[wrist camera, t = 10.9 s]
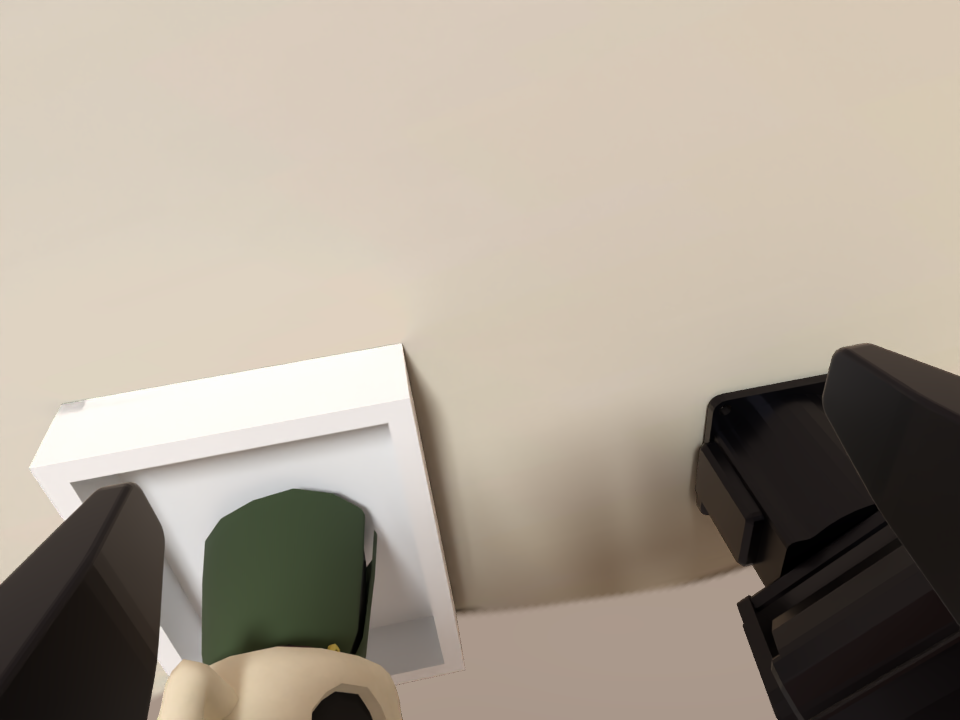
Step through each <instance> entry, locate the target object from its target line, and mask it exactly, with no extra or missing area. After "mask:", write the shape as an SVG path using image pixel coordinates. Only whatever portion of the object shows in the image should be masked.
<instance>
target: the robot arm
mask: <svg viewBox="0 0 960 720" xmlns="http://www.w3.org/2000/svg"><path fill="white" fill-rule="evenodd" d="M725 405H726V406H725ZM723 406H725V407H723ZM722 407H723V408H722ZM720 408H721V409H720ZM695 491H696V492H697V494H698V495H697V506H698V508H699V510H700V511H701V513H702V514H704V515H710V517H711V518H712V520H713V522H714V524H715V525H716V527H717V529H718V530H719V532H720V534H721V536H722V537H723V539H724V541H725V542H726V544H727V546H728V548H729V549H730V551H731V553H732V555H733V556H734V558H735V560H736V561H737V562H738V563H739V564H741V565H742V566H744V567H745V566H750V565H753V567H754V569H755V570H756V572H757V574H758V575H759V577H760V579H761V580H762V582H763V584H764V585H765V588H763V589H762V590H760V591H759V592H757V593H756V594H754V595H753V596H752V597H751V596H747V597H745V598H744V599H742V600H741V601H740V602H738V603H737V606H738V609H739V612H740V615H741V617H742V620H743V623H744V624H743V628H744V631H745V634H746V636H747V639H748V642H749V645H750V647H751V650H752V653H753V656H754V658H755V661H756V664H757V666H758V669H759V672H760V675H761V678H762V680H763V683H764V685H765V688H766V691H767V694H768V696H769V699H770V702H771V705H772V708H773V710H774V713H775V715H776V718H777V719H778V720H960V376H958V375H955V374H952V373H950V372H947V371H944V370H942V369H939V368H936V367H933V366H931V365H928V364H925V363H922V362H920V361H917V360H914V359H912V358H909V357H906V356H903V355H901V354H898V353H895V352H893V351H890V350H887V349H884V348H882V347H879V346H876V345H873V344H869V343H863V344H857V345H852V346H847V347H842V348H840V349H838V350H836V351H835V353H834V354H833V356H832V359H831V363H830V367H829V371H828V374H824V375H819V376H813V377H808V378H803V379H798V380H792V381H787V382H782V383H777V384H772V385H766V386H761V387H756V388H751V389H745V390H740V391H735V392H730V393H725V394H721V395H718V396H716V397H714V398H713V399H712V400H711V401H710V403H709V406H708V414H707V422H706V430H705V438H704V443H703V444H702V446H701V448H700V451H699V460H698V468H697V477H696V485H695ZM164 552H165V536H164V531H163V528H162V525H161V523H160V521H159V519H158V518H157V516H156V514H155V512H154V510H153V508H152V507H151V505H150V503H149V501H148V499H147V498H146V496H145V494H144V492H143V490H142V489H141V488H140V486H139V485H138V484H136V483H134V482H125V483H119V484H114V485H109V486H104V487H101V488H99V489H97V490H96V491H95V492H94V493H93V494H92V495H91V496H90V497H89V498H87V499H86V500H85V501H84V502H83V503H82V504H81V505H80V506H79V507H78V508H77V509H76V510H75V511H74V512H73V513H72V514H71V515H70V516H69V517H68V518H67V519H66V520H65V521H64V522H63V523H62V524H61V525H60V526H59V527H58V528H57V529H56V530H55V531H54V532H53V533H52V534H51V535H50V536H49V537H48V538H47V539H46V540H45V541H44V542H43V543H42V544H41V545H40V546H39V547H38V548H37V549H36V550H35V551H34V552H33V553H32V554H31V555H30V556H29V557H28V558H27V559H26V560H25V561H24V562H23V563H22V564H21V565H20V566H19V567H18V568H17V569H16V570H15V571H14V572H13V573H12V574H11V575H10V576H9V577H8V578H7V579H6V580H5V581H4V582H3V583H2V584H0V720H147V716H148V711H149V706H150V700H151V695H152V689H153V684H154V678H155V671H156V665H157V658H158V647H159V633H160V617H161V601H162V585H163V569H164Z"/></svg>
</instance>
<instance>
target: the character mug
mask: <svg viewBox="0 0 960 720" xmlns="http://www.w3.org/2000/svg"><path fill="white" fill-rule="evenodd" d="M364 528H365V514H364V512H363V511H362V509H361V508H359V507H357V506H356V505H354V504H352V503H350V502H348V501H346V500H344V499H342V498H341V497H339V496H337V495H335V494H333V493H326V492H318V491H310V490H302V489H295V488H293V489H290V490H286V491H283V492H279V493H276V494H273V495H269V496H266V497H263V498H259V499H256V500H252V501H251V502H249V503H247V504H245V505H244V506H242V507H240V508H238V509H237V510H235V511H233V512H231V513H230V514H228V515H226V516H224V517H223V518H221V519H220V520H219V522H218V523H217V525H216V526H215V527H214V529H213V530H212V532H211V533H210V535H209V536H208V537H207V539H206V540H205V548H204V563H203V577H202V662H203V663H200V662H196V661H191V660H186V659H183V660H182V661H181V662H180V663H179V664H178V665H177V666H176V667H175V668H174V669H173V670H172V672H171V674H170V676H169V678H168V680H167V682H166V685H165V689H164V694H163V699H162V704H161V709H160V714H159V716H158V718H157V720H403V719H402V714H401V709H400V702H399V697H398V694H397V690H396V687H395V684H394V682H393V680H392V678H391V676H390V674H389V673H388V672H387V671H386V670H385V669H384V668H383V667H382V666H381V665H379V664H377V663H374V662H372V661H369V660H367V659H366V652H367V643H368V634H369V624H370V615H371V606H372V597H373V588H374V580H375V567H376V550H377V533H376V532H375V530H374V537H373V554H372V561H371V562H370V563H369V564H368V566H367V567H366V559H365V553H364Z"/></svg>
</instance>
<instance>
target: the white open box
mask: <svg viewBox="0 0 960 720" xmlns="http://www.w3.org/2000/svg"><path fill="white" fill-rule="evenodd" d="M29 470H30V471H31V473H32V474H33V476H34V477H35V479H36V480H37V482H38V483H39V485H40V486H41V488H42V489H43V491H44V492H45V494H46V495H47V497H48V498H49V500H50V501H51V503H52V504H53V506H54V507H55V508H56V510H57V511H58V513H59V514H60V516H61V517H62V519H63V520H64V521H65V520H66V519H67V518H68V517H69V516H70V515H71V514H72V513H73V512H74V511H75V510H76V509H77V508H78V507H79V506H80V505H81V504H82V503H83V502H84V501H85V500H86V499H87V498H89V497H90V496H91V495H92V494H93V493H94V492H95V491H96V490H97V489H99V488H101V487H104V486H109V485H114V484H119V483H125V482H134V483H136V484H138V485H139V486H140V488H141V489H142V490H143V492H144V494H145V496H146V498H147V499H148V501H149V503H150V505H151V507H152V508H153V510H154V512H155V514H156V516H157V518H158V519H159V521H160V523H161V525H162V528H163V531H164V536H165V552H164V569H163V585H162V601H161V617H160V633H159V647H158V658H157V660H158V661H159V663H160V664H161V666H162V667H163V669H164V670H165V672H166V673H167V675H168V676H170V674H171V672H172V670H173V669H174V668H175V667H176V666H177V665H178V664H179V663H180V662H181V661H182V660H183V659H186V660H191V661H196V662H200V663H203V662H202V577H203V563H204V548H205V540H206V539H207V537H208V536H209V535H210V533H211V532H212V530H213V529H214V527H215V526H216V525H217V523H218V522H219V520H220V519H221V518H223V517H224V516H226V515H228V514H230V513H231V512H233V511H235V510H237V509H238V508H240V507H242V506H244V505H245V504H247V503H249V502H251V501H252V500H256V499H259V498H263V497H266V496H269V495H273V494H276V493H279V492H283V491H286V490H290V489H293V488H295V489H302V490H310V491H318V492H326V493H333V494H335V495H337V496H339V497H341V498H342V499H344V500H346V501H348V502H350V503H352V504H354V505H356V506H357V507H359V508H361V509H362V511H363V512H364V514H365V528H364V553H365V559H366V567H367V566H368V564H369V563H370V562H371V561H372V554H373V537H374V530H375V532H376V533H377V550H376V567H375V580H374V588H373V597H372V606H371V615H370V624H369V634H368V643H367V652H366V659H367V660H369V661H372V662H374V663H377V664H379V665H381V666H382V667H383V668H384V669H385V670H386V671H387V672H388V673H389V674H390V676H391V678H392V680H393V682H394V684H395V685H398V684H404V683H408V682H413V681H417V680H422V679H426V678H431V677H435V676H440V675H445V674H450V673H454V672H459V671H463V670H465V665H464V659H463V653H462V647H461V640H460V634H459V628H458V622H457V616H456V610H455V605H454V600H453V595H452V590H451V585H450V580H449V575H448V570H447V565H446V560H445V555H444V550H443V545H442V540H441V535H440V530H439V525H438V521H437V516H436V511H435V506H434V501H433V496H432V491H431V486H430V481H429V476H428V471H427V466H426V461H425V456H424V451H423V446H422V441H421V436H420V431H419V426H418V421H417V416H416V411H415V406H414V401H413V396H412V391H411V386H410V382H409V377H408V372H407V367H406V362H405V357H404V352H403V347H402V343H400V344H395V345H389V346H383V347H378V348H372V349H367V350H361V351H356V352H350V353H344V354H339V355H333V356H328V357H322V358H316V359H311V360H305V361H300V362H294V363H288V364H283V365H277V366H272V367H266V368H260V369H255V370H249V371H244V372H238V373H232V374H227V375H221V376H216V377H210V378H204V379H199V380H193V381H188V382H182V383H176V384H171V385H165V386H160V387H154V388H148V389H143V390H137V391H132V392H126V393H120V394H115V395H109V396H104V397H98V398H92V399H87V400H81V401H76V402H70V403H64V404H61V406H60V408H59V410H58V412H57V414H56V416H55V418H54V420H53V422H52V423H51V425H50V427H49V429H48V431H47V433H46V435H45V437H44V439H43V441H42V443H41V445H40V447H39V449H38V451H37V453H36V455H35V457H34V459H33V461H32V463H31V465H30V467H29Z"/></svg>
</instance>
